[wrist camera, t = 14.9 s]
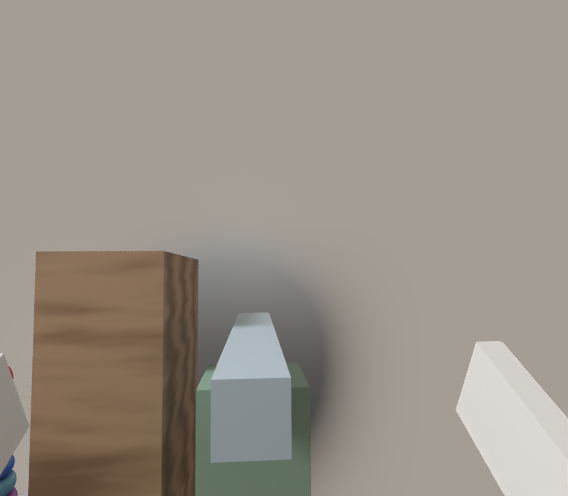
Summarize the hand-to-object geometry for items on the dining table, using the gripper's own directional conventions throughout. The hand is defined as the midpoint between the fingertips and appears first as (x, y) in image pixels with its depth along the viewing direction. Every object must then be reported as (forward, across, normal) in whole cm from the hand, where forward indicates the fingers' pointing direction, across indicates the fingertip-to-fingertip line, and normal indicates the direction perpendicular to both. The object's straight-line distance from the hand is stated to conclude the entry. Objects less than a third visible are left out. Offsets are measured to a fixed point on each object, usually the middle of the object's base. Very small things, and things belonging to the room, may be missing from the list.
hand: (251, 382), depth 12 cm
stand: (+15, -12, -37) cm, 42 cm away
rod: (+16, 0, -15) cm, 22 cm away
